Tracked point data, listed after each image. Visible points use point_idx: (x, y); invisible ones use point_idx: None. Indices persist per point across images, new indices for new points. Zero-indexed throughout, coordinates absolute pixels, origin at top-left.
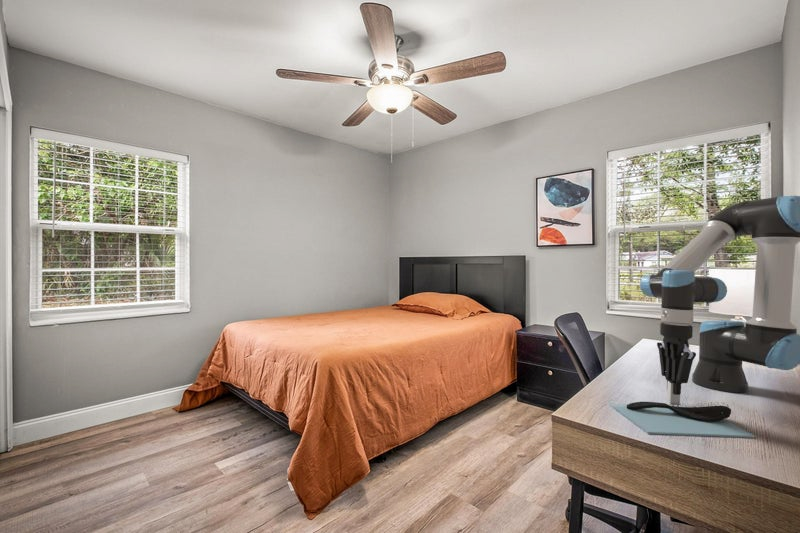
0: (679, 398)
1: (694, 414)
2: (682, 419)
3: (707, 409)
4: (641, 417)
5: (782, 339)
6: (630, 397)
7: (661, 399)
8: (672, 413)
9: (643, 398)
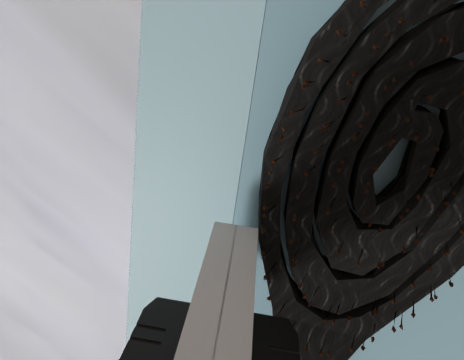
0: (255, 264)
1: (410, 232)
2: (410, 324)
3: (390, 61)
4: None
5: None
6: (3, 319)
7: (6, 130)
8: None
9: (7, 251)
